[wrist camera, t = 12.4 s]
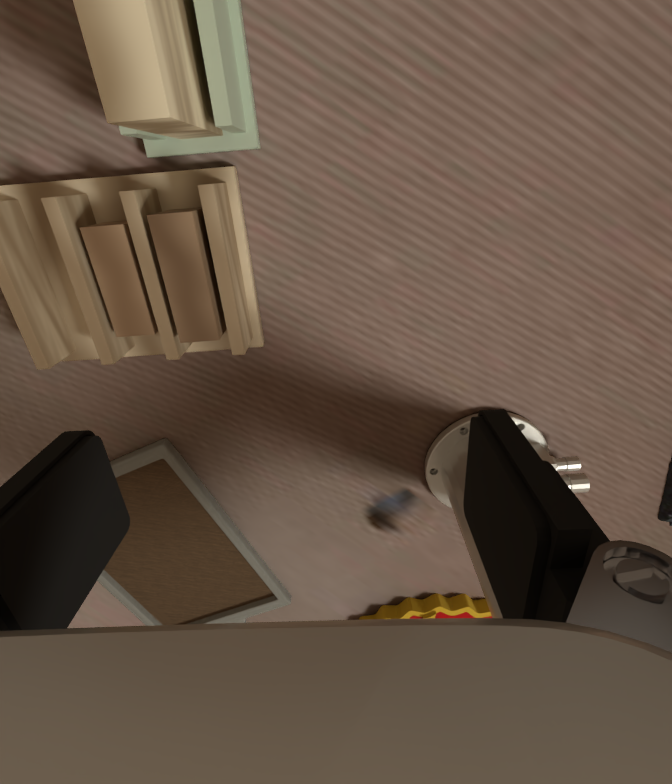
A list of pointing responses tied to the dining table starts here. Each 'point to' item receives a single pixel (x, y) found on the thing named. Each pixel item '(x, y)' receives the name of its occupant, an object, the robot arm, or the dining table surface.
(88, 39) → the maple block
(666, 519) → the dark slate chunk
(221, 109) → the green stand
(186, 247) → the walnut offcut
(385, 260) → the dining table surface
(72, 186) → the offcut rack
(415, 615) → the decorative plaque
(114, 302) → the walnut offcut
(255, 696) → the robot arm
